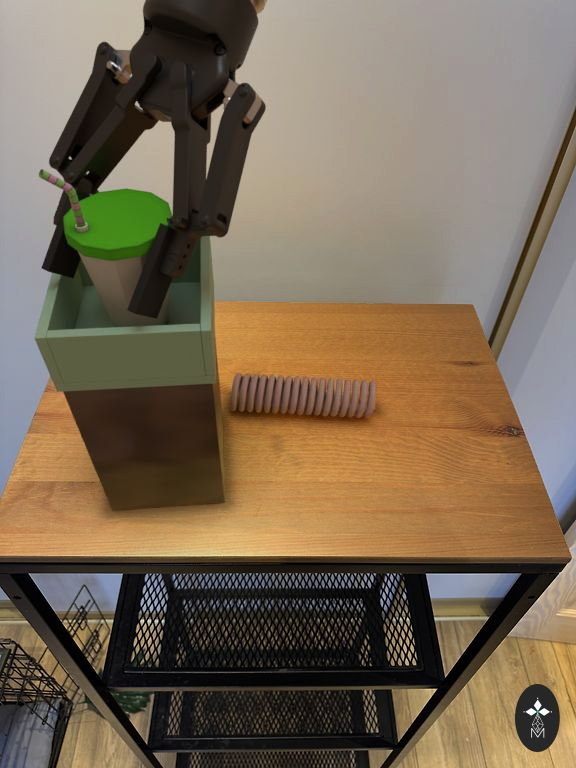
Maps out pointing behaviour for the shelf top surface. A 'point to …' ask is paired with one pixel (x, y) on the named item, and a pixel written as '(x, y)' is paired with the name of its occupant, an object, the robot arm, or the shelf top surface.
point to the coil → (303, 395)
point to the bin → (130, 334)
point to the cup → (115, 244)
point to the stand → (154, 443)
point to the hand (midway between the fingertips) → (98, 293)
